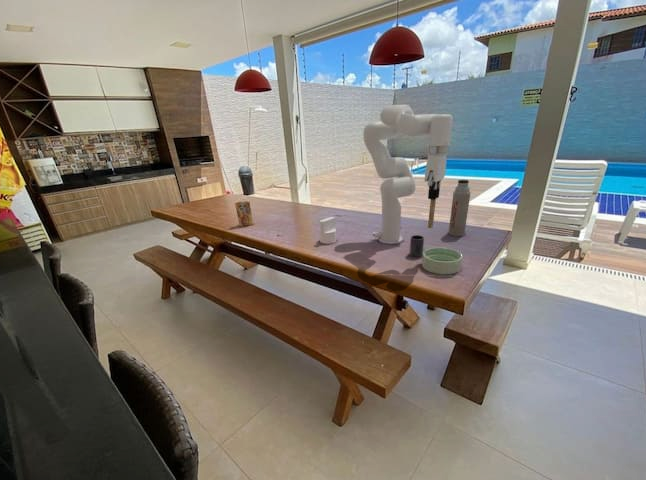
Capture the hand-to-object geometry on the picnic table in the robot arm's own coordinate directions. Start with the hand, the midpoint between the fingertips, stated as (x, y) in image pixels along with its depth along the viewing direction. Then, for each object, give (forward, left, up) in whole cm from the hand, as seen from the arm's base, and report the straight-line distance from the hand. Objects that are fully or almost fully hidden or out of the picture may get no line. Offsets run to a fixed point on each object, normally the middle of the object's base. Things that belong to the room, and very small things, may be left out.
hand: (433, 198), depth 125 cm
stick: (0, 0, -13) cm, 13 cm away
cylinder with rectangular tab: (-49, +23, -28) cm, 61 cm away
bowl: (+4, -8, -28) cm, 29 cm away
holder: (-5, +4, -28) cm, 28 cm away
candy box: (-108, +52, -28) cm, 123 cm away
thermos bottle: (+19, +34, -28) cm, 48 cm away
